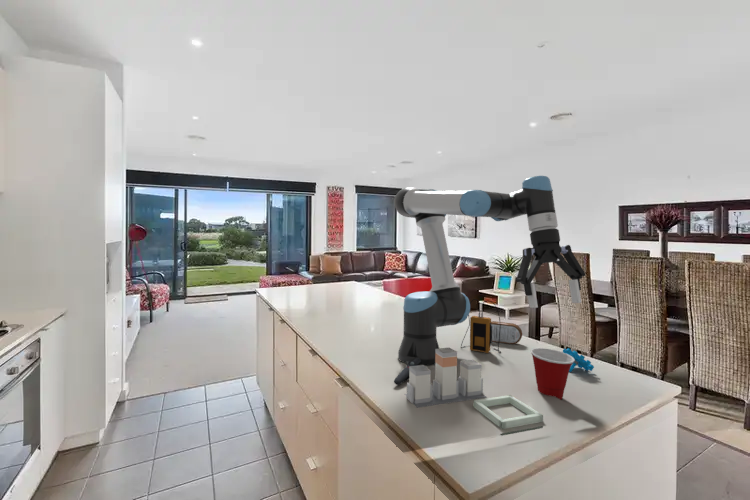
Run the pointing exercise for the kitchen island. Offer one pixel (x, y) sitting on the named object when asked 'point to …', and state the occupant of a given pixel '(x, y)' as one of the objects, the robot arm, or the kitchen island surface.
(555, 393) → the plastic cup
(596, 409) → the kitchen island surface
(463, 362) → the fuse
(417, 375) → the grey block
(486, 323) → the multimeter
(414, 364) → the can opener
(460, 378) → the block
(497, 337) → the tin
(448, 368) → the block
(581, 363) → the blue knobby plastic piece
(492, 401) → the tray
